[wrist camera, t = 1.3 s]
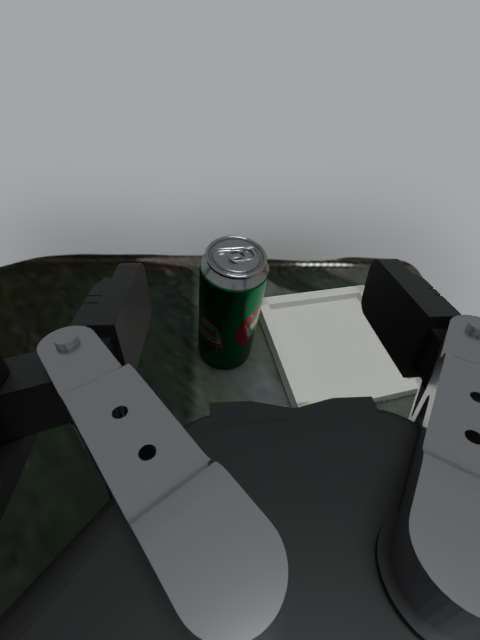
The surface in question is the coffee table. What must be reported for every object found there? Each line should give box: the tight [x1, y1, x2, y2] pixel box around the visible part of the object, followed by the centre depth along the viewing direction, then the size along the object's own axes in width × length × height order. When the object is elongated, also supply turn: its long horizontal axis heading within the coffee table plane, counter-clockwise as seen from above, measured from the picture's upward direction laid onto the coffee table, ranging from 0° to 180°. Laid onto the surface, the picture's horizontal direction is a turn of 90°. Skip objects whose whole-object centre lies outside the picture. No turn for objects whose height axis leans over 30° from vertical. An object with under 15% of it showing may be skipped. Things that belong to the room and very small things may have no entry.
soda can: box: [198, 236, 269, 368], centre depth 28 cm, size 5×5×12 cm
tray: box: [259, 285, 422, 408], centre depth 33 cm, size 13×13×2 cm
